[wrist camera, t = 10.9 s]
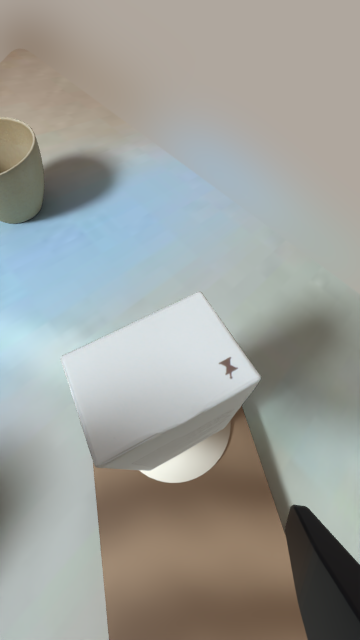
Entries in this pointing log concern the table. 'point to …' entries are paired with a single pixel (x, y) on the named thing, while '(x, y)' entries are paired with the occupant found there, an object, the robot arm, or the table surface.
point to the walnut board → (196, 547)
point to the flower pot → (19, 172)
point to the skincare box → (158, 385)
